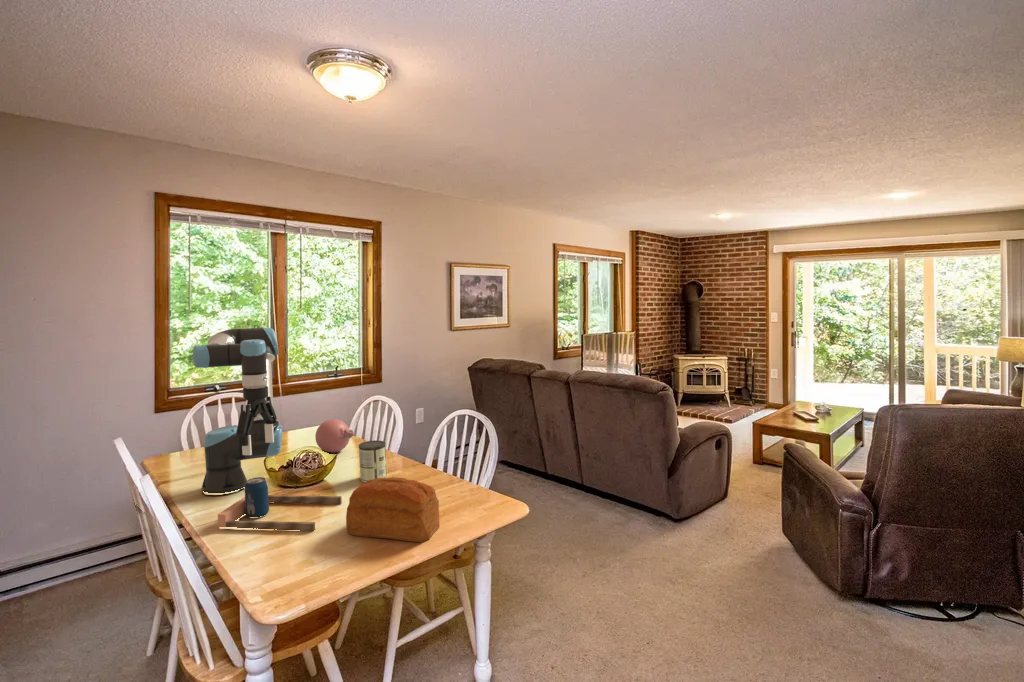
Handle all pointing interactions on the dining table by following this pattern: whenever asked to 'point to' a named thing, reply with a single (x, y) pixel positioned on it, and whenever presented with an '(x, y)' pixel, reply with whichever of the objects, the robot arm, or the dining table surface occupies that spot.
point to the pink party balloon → (333, 435)
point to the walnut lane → (287, 525)
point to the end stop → (232, 512)
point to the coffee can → (372, 460)
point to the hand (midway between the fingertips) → (258, 448)
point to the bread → (393, 510)
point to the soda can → (256, 497)
